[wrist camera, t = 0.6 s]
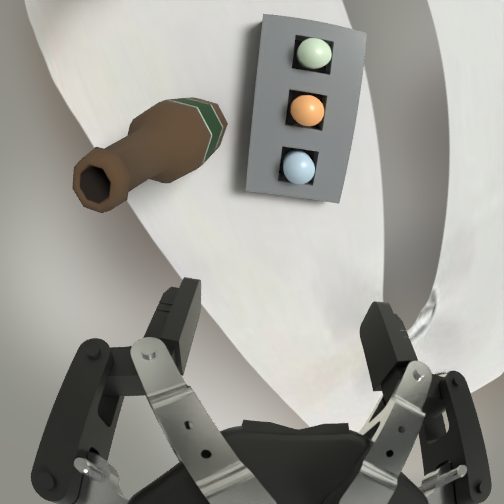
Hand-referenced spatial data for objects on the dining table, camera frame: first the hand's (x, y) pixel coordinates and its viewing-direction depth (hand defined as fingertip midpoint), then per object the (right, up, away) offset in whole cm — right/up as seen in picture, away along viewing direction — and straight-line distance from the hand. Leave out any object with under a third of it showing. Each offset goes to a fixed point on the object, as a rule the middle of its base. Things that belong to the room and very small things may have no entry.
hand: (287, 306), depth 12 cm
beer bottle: (-8, +19, +21) cm, 29 cm away
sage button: (+5, +25, +13) cm, 29 cm away
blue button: (+4, +13, +21) cm, 25 cm away
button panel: (+5, +20, +18) cm, 28 cm away
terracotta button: (+5, +19, +17) cm, 26 cm away
